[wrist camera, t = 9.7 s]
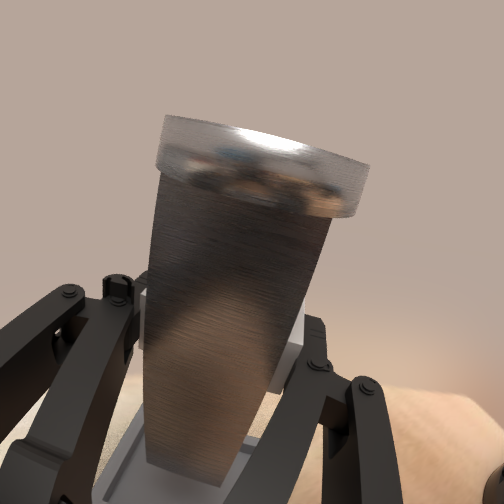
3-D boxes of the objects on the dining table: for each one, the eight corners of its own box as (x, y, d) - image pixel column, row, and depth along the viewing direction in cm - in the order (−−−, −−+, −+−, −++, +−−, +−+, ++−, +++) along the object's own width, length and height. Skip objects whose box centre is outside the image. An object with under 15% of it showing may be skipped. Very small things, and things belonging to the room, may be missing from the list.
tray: (274, 455, 24) (282, 443, 23) (254, 564, 13) (262, 561, 12) (144, 414, 24) (143, 400, 24) (91, 510, 13) (84, 502, 12)
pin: (251, 426, 18) (351, 160, 12) (232, 504, 12) (398, 175, 6) (163, 397, 19) (204, 121, 12) (125, 467, 13) (121, 109, 6)
